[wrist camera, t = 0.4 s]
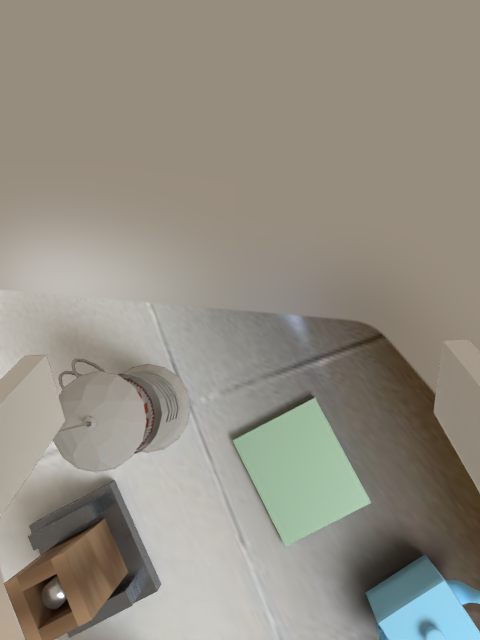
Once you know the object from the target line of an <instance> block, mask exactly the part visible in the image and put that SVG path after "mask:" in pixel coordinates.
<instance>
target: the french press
mask: <svg viewBox="0 0 480 640" xmlns="http://www.w3.org/2000/svg"><path fill="white" fill-rule="evenodd" d="M77 361H78V362H85V363H87V364H90V365H92V366H94V367H95V368H97V369H98V370H100V371H99V372H95V373H90V374H86V375H81V374H79V373H77V372H76V370H75V365H74V364H75V363H76V362H77ZM72 370H73V372H72V371H65V372H62V373H61V374H60V375H59V377H58V378H59V384H60V386H61V388H62V390H63V391H62V392H61V394H60V395H59V400H60V404H61V407H62V411H63V414H64V418H65V422H64V423H63V425H62V426H61V428H60V429H59V431H58V432H57V434H56V435H55V437H54V438H53V441H54V443H55V445H56V446H57V448H58V450H59V452H60V453H61V455H62V457H63V458H65V459H66V460H67V461H69V462H70V463H71V464H73V465H74V466H75V467H77V468H78V469H83V470H87V471H92V472H100V471H105V470H110V469H115V468H116V467H118V466H119V465H121V464H122V463H124V462H125V461H126V460H128V459H129V458H131V457H132V455H133V454H135V453H138V452H141V451H142V452H147V453H148V452H153V451H157V450H162V449H165V448H166V447H168V446H169V445H171V444H172V443H173V442H175V441H176V440H178V438H179V437H180V435H181V434H182V432H183V431H184V429H185V428H186V426H187V424H188V419H189V413H190V408H191V407H190V402H189V397H188V392H187V389H186V388H185V386H184V385H183V383H182V382H181V380H180V379H179V377H178V376H177V375H175V374H174V373H172V372H171V371H169V370H168V369H166V368H165V367H160V366H155V365H149V364H147V365H143V366H138V367H134V368H131V369H130V370H128V371H127V372H126V373H124V374H118V375H116V374H111V373H106V372H105V371H104V370H103V369H101V368H100V367H99V366H97V365H96V364H94V363H91V362H89V361H87V360H84V359H74V360H73V362H72ZM64 374H72V375H76V377H77V379H75V380H74V381H72V382H71V383H70V384H68V385H67V386H65V387H64V386H63V383H62V376H63V375H64Z"/></svg>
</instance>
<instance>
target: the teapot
mask: <svg viewBox="0 0 480 640" xmlns="http://www.w3.org/2000/svg"><path fill="white" fill-rule="evenodd" d="M366 594H367V597H368V600H369V602H370V605H371V607H372V610H373V613H374V615H375V618H376V620H377V623H378V624H377V633H378V634H379V636H380V638H379V640H480V632H479V630H478V629H477V627H476V626H475V624H474V623H473V621H472V620H471V618H470V617H469V615H468V614H467V612H466V611H465V609H464V608H463V606H462V605H463V604H466V603H469V602H474V603H479V604H480V591H479V590H476V589H473V588H472V587H470V586H468V585H467V584H465V583H463V582H461V581H458V580H445V579H444V578H443V577H442V575H441V574H440V573H439V572H438V570H437V569H436V568H435V567H434V565H433V564H432V563H431V561H430V560H429V559H428V558H427V556H426V555H425V554H424V555H423V556H421V557H420V558H418V559H416V560H415V561H413V562H412V563H410V564H409V565H407V566H406V567H404V568H402V569H401V570H399V571H398V572H396V573H395V574H393V575H392V576H390V577H388V578H387V579H385V580H384V581H382V582H381V583H379V584H378V585H376V586H375V587H373V588H371V589H370V590H368V591H367V592H366Z"/></svg>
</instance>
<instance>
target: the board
mask: <svg viewBox="0 0 480 640" xmlns="http://www.w3.org/2000/svg"><path fill="white" fill-rule="evenodd" d="M233 443H234V445H235V447H236V449H237V451H238V453H239V455H240V457H241V459H242V461H243V463H244V465H245V467H246V469H247V471H248V473H249V475H250V477H251V479H252V481H253V483H254V485H255V487H256V489H257V491H258V493H259V495H260V497H261V499H262V501H263V503H264V505H265V507H266V509H267V511H268V513H269V515H270V517H271V519H272V521H273V523H274V525H275V527H276V529H277V531H278V533H279V535H280V537H281V539H282V541H283V543H284V545H285V547H286V546H288V545H290V544H292V543H293V542H295V541H297V540H299V539H301V538H303V537H305V536H307V535H309V534H311V533H313V532H315V531H317V530H319V529H321V528H323V527H325V526H327V525H329V524H331V523H333V522H335V521H337V520H339V519H340V518H342V517H344V516H346V515H348V514H350V513H352V512H354V511H356V510H358V509H360V508H362V507H364V506H366V505H368V504H370V503H371V502H370V500H369V498H368V496H367V494H366V492H365V490H364V488H363V487H362V485H361V483H360V481H359V479H358V477H357V475H356V474H355V472H354V470H353V468H352V466H351V464H350V462H349V461H348V459H347V457H346V455H345V453H344V451H343V449H342V447H341V446H340V444H339V442H338V440H337V438H336V436H335V434H334V433H333V431H332V429H331V427H330V425H329V423H328V421H327V419H326V418H325V416H324V414H323V412H322V410H321V408H320V406H319V405H318V403H317V401H316V399H315V398H312V399H310V400H308V401H306V402H304V403H302V404H301V405H299V406H297V407H295V408H293V409H291V410H289V411H287V412H285V413H283V414H281V415H279V416H278V417H276V418H274V419H272V420H270V421H268V422H266V423H264V424H262V425H260V426H258V427H256V428H254V429H253V430H251V431H249V432H247V433H245V434H243V435H241V436H239V437H237V438H235V439H233Z"/></svg>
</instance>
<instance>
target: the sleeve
mask: <svg viewBox="0 0 480 640" xmlns="http://www.w3.org/2000/svg"><path fill="white" fill-rule="evenodd" d="M127 573H128V570H127V568H126V566H125V563H124V561H123V559H122V557H121V554H120V552H119V550H118V547H117V545H116V543H115V541H114V538H113V536H112V534H111V532H110V529H109V527H108V525H107V522H106V520H105V519H103V520H101V521H99V522H97V523H95V524H93V525H91V526H89V527H87V528H85V529H83V530H82V531H80V532H78V533H76V534H74V535H72V536H70V537H68V538H66V539H64V540H62V541H60V542H58V543H57V544H55V545H54V546H52V547H51V548H50V549H49V550H47V551H46V552H45V553H43V554H42V555H41V556H39V557H38V558H37V559H35V560H34V561H33V562H31V563H30V564H29V565H28V566H26V567H25V568H24V569H22V570H21V571H20V572H18V573H17V574H16V575H14V576H13V577H12V578H11V579H9V580H8V581H7V582H5V583H4V585H5V588H6V590H7V593H8V595H9V598H10V601H11V603H12V606H13V608H14V611H15V613H16V616H17V618H18V621H19V623H20V626H21V629H22V631H23V634H24V636H25V639H26V640H54V639H56V638H57V637H59V636H61V635H63V634H65V633H67V632H69V631H71V630H73V629H75V628H77V627H79V626H81V625H83V624H85V623H87V622H89V621H91V620H92V619H93V618H94V616H95V615H96V614H97V612H98V611H99V610H100V609H101V607H102V606H103V605H104V603H105V602H106V601H107V599H108V598H109V597H110V595H111V594H112V593H113V592H114V590H115V589H116V588H117V586H118V585H119V584H120V582H121V581H122V580H123V578H124V577H125V576H126V574H127ZM56 576H58V578H59V581H60V583H61V586H62V588H63V590H64V593H65V595H66V598H67V600H66V601H65V602H64V603H63V604H62V605H61V606H60V607H59V608H56V609H50V608H48V607H46V606H45V605H44V603H43V602H42V598H41V594H42V590H43V588H44V587H45V586H46V585H47V584H48V583H49V582H50V581H51V580H52V579H53V578H55V577H56Z"/></svg>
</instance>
